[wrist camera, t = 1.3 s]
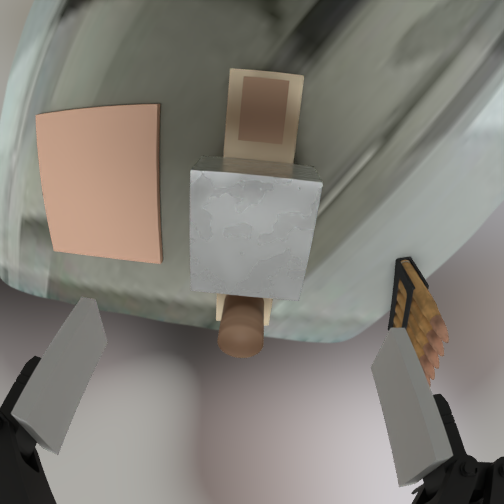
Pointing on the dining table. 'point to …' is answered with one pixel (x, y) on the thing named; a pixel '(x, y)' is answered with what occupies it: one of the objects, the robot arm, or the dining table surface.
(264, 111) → the wooden peg stand
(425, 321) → the ammunition clip
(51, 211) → the mat
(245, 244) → the brushed metal block
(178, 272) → the dining table surface
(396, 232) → the dining table surface
